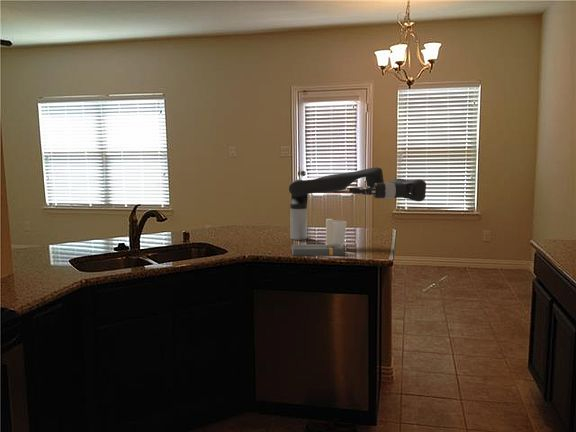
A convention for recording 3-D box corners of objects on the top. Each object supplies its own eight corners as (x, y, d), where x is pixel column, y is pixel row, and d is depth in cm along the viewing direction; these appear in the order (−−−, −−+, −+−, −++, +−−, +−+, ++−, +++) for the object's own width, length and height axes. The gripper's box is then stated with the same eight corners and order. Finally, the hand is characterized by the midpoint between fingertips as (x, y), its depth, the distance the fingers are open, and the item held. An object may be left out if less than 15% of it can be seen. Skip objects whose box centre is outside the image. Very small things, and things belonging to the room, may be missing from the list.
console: (293, 255, 222) (293, 249, 222) (291, 250, 234) (291, 244, 234) (343, 255, 224) (343, 248, 223) (339, 250, 236) (339, 243, 235)
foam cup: (348, 245, 247) (348, 220, 246) (344, 248, 239) (344, 223, 237) (330, 244, 250) (330, 220, 249) (325, 247, 242) (326, 222, 240)
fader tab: (326, 246, 227) (326, 219, 225) (325, 245, 231) (325, 218, 229) (333, 246, 227) (334, 219, 225) (332, 244, 231) (332, 218, 230)
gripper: (381, 181, 233) (348, 182, 233) (388, 183, 219) (353, 183, 218) (380, 197, 234) (348, 197, 234) (388, 199, 220) (353, 199, 219)
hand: (350, 190), depth 226 cm, fingers open, 8 cm apart
